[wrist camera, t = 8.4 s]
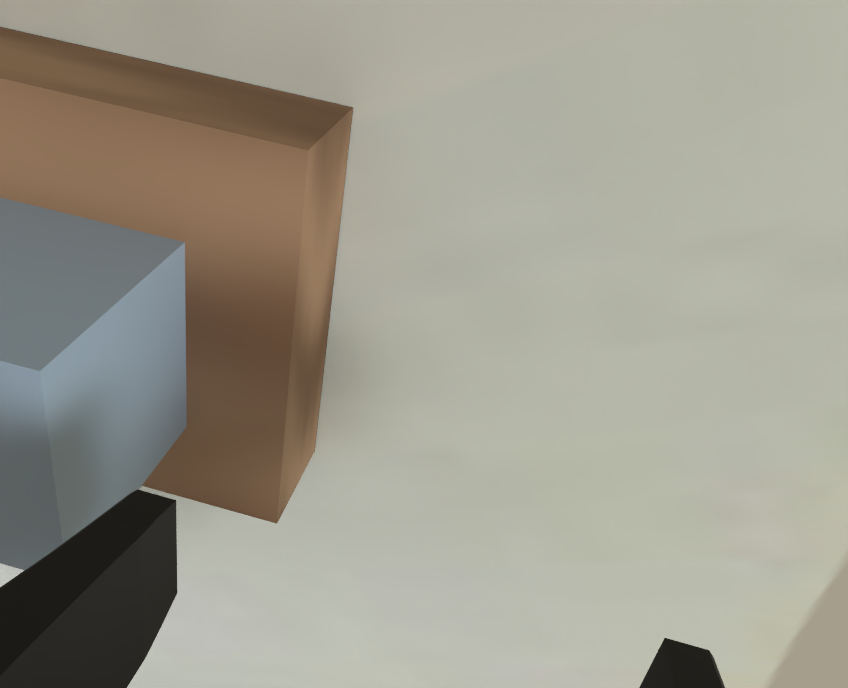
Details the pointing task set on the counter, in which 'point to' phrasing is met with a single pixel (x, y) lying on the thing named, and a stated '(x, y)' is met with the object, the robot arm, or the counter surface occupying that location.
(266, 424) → the walnut base
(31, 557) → the slate-blue cube
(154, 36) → the counter surface
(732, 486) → the counter surface
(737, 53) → the counter surface
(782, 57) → the counter surface
